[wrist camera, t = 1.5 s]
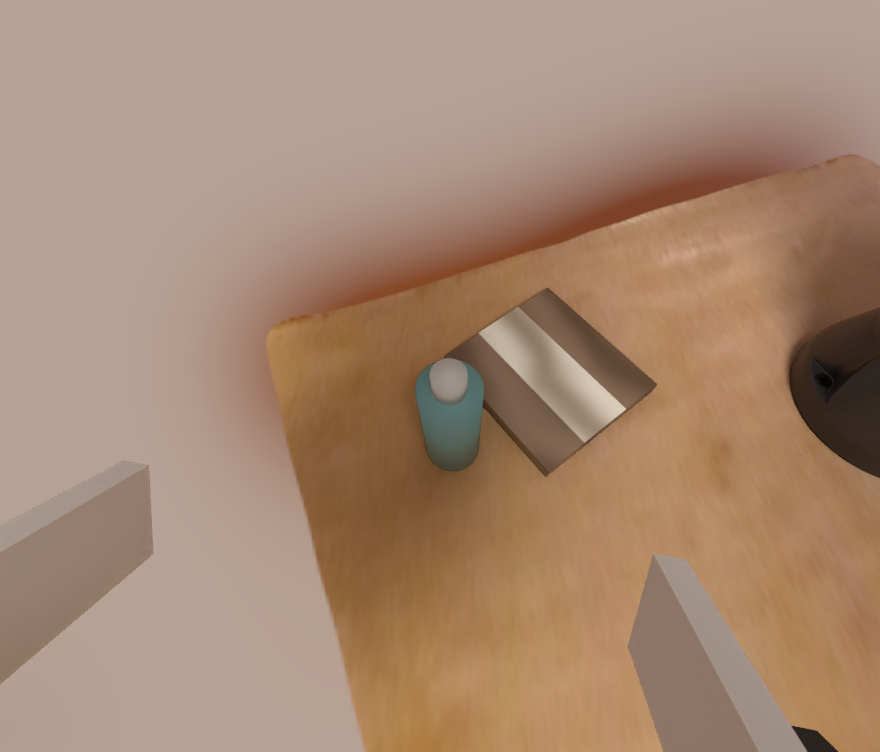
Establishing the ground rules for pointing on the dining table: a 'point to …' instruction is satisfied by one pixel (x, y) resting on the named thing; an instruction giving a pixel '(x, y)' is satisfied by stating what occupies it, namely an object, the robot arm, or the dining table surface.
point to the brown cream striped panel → (551, 379)
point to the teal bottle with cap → (450, 412)
